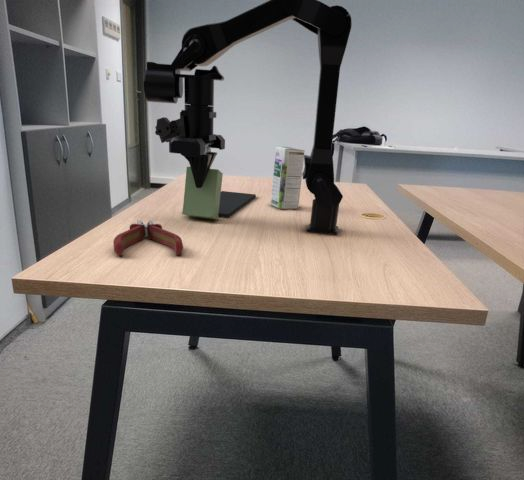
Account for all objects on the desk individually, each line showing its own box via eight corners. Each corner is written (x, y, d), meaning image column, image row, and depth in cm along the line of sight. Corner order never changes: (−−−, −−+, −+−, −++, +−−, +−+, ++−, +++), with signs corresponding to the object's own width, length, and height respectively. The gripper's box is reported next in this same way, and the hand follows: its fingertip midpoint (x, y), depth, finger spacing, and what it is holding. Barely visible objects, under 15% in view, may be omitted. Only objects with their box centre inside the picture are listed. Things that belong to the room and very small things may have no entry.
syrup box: (269, 205, 125) (274, 146, 119) (289, 204, 128) (294, 146, 121) (279, 209, 121) (284, 148, 114) (299, 209, 123) (305, 149, 116)
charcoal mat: (227, 217, 108) (228, 214, 108) (186, 213, 110) (186, 209, 109) (255, 197, 134) (255, 194, 134) (221, 193, 136) (222, 190, 136)
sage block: (213, 217, 102) (218, 169, 100) (182, 214, 103) (186, 166, 101) (217, 219, 106) (222, 173, 104) (188, 216, 107) (192, 170, 105)
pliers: (173, 227, 96) (173, 214, 95) (184, 256, 79) (184, 241, 78) (115, 227, 94) (114, 214, 92) (113, 257, 76) (112, 241, 75)
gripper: (177, 103, 103) (178, 178, 110) (141, 101, 86) (145, 190, 93) (226, 107, 101) (224, 183, 108) (199, 106, 85) (199, 195, 92)
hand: (199, 187), depth 100 cm, fingers closed
